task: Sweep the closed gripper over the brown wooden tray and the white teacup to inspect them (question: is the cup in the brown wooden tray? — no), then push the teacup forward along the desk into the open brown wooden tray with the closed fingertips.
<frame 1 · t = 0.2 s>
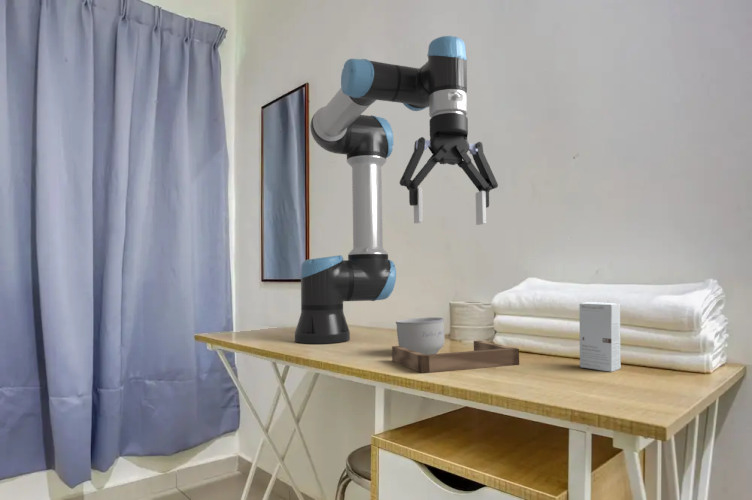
hand: (450, 223, 96), 28 cm above the table, fingers open, 13 cm apart
teacup: (424, 354, 110), on the table
brown wooden tray: (453, 362, 98), on the table
skincare box: (601, 369, 90), on the table
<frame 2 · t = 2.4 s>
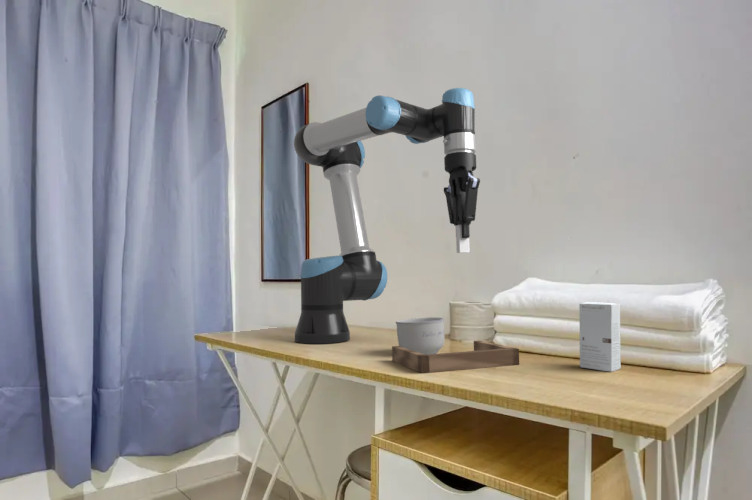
hand: (463, 252, 115), 23 cm above the table, fingers closed
nothing on the table moved.
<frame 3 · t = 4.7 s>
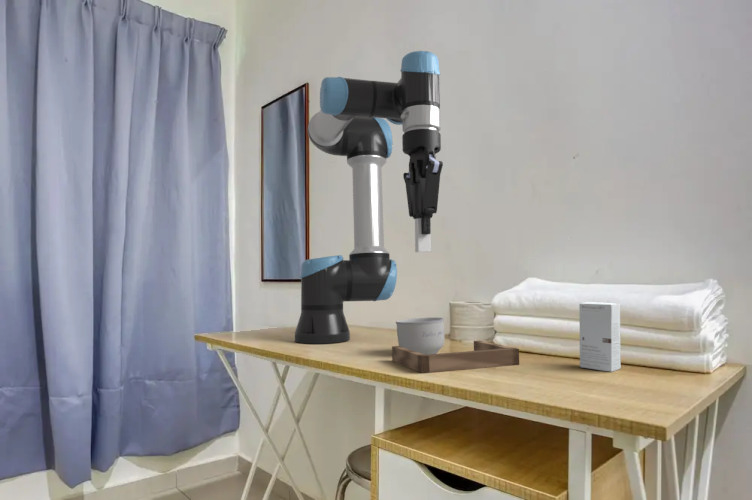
hand: (423, 251, 95), 22 cm above the table, fingers closed
nothing on the table moved.
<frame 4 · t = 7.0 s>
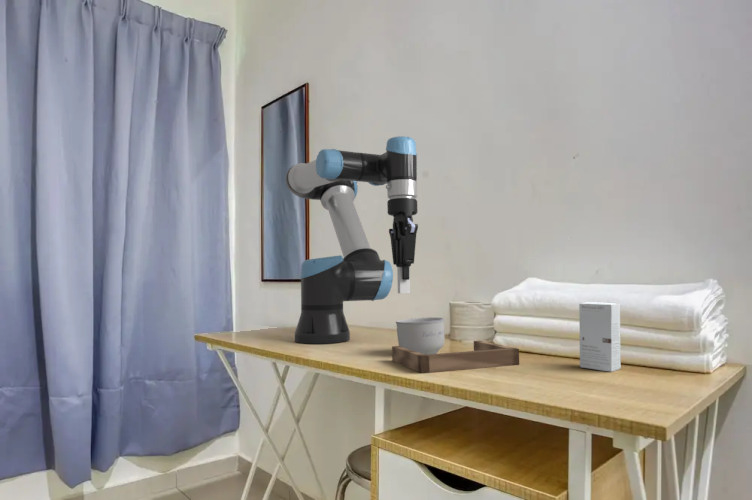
hand: (403, 293, 121), 13 cm above the table, fingers closed
nothing on the table moved.
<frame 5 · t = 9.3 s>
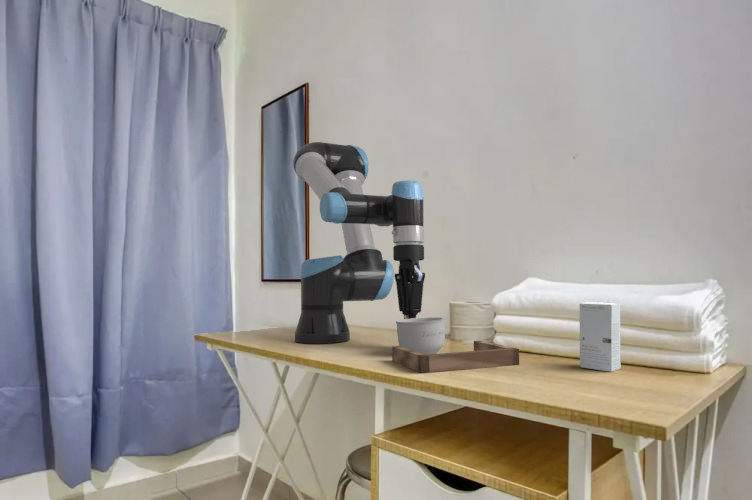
hand: (410, 342, 117), 2 cm above the table, fingers closed
teacup: (424, 354, 110), on the table, touching gripper
everything else where it was.
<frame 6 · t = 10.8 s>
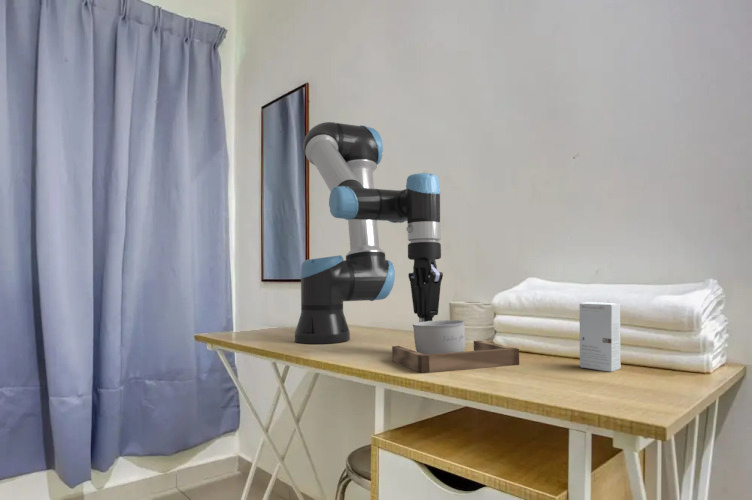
hand: (426, 346, 110), 2 cm above the table, fingers closed
teacup: (443, 359, 102), on the table, touching gripper
everything else where it was.
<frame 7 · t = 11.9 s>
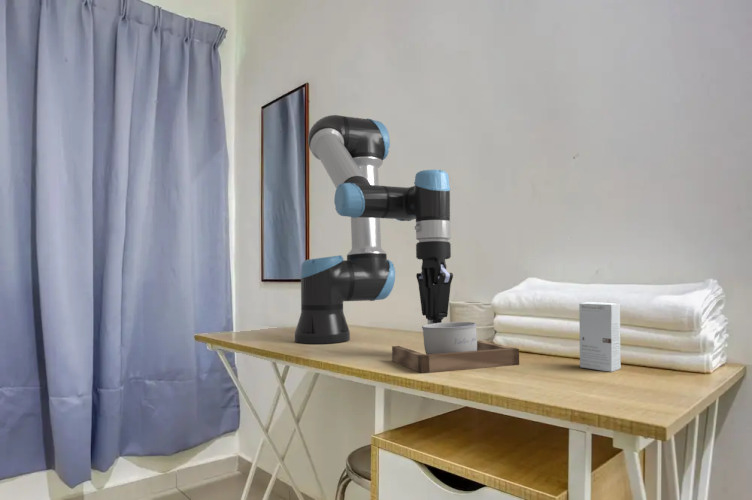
hand: (435, 349, 106), 1 cm above the table, fingers closed
teacup: (453, 363, 98), on the table, touching brown wooden tray, gripper
everything else where it was.
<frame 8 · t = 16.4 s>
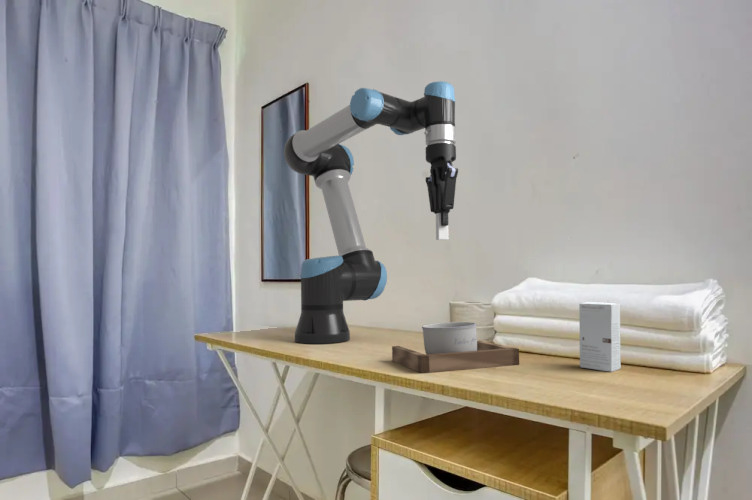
hand: (442, 239, 120), 26 cm above the table, fingers closed
teacup: (453, 363, 98), on the table
everything else where it was.
at the end: teacup inside the target area (0.3 cm from its centre), on the table; teacup tilted 0°; teacup moved 12.9 cm from its start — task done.
